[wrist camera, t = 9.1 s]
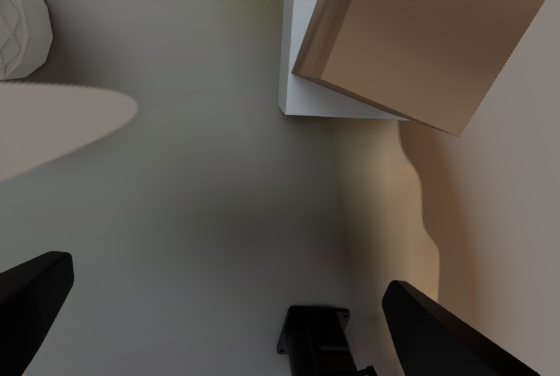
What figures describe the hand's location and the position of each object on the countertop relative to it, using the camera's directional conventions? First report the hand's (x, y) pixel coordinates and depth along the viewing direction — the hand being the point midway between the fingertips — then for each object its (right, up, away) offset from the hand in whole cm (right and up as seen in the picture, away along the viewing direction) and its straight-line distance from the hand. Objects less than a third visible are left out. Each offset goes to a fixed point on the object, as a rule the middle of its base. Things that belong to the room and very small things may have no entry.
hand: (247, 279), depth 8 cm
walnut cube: (+5, +10, +6) cm, 13 cm away
